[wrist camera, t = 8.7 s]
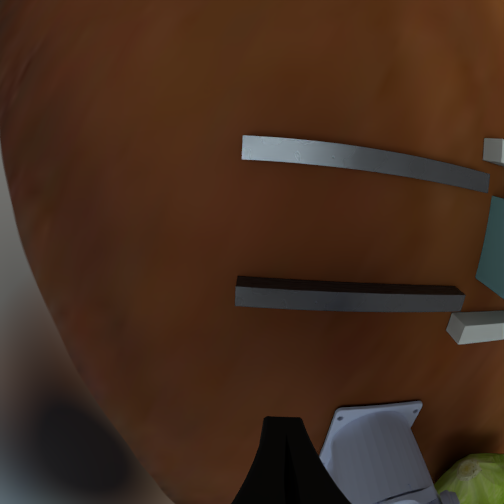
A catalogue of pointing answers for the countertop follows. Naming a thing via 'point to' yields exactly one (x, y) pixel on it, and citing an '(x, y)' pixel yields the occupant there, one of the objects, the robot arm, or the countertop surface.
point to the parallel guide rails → (348, 293)
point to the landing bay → (489, 322)
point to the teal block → (493, 249)
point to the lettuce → (475, 479)
